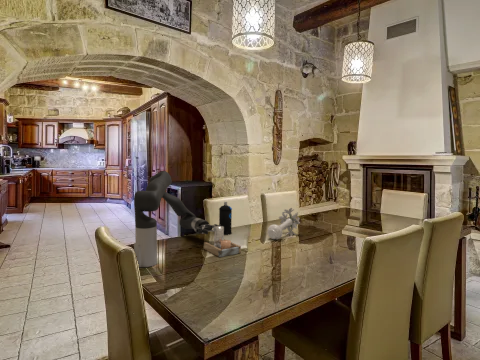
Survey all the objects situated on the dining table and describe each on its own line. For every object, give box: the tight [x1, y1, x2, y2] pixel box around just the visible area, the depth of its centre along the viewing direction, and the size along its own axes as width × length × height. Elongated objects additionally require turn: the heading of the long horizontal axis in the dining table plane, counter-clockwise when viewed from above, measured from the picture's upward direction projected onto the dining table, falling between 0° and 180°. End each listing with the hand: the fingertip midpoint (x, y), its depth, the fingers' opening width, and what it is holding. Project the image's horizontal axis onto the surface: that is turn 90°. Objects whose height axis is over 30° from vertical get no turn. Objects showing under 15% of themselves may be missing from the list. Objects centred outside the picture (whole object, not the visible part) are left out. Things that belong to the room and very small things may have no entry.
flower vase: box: [267, 207, 301, 240], centre depth 195 cm, size 13×18×25 cm
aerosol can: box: [218, 201, 233, 236], centre depth 201 cm, size 8×8×20 cm
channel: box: [203, 238, 242, 258], centre depth 165 cm, size 12×16×4 cm
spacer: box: [221, 239, 231, 250], centre depth 162 cm, size 5×5×6 cm
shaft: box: [213, 226, 225, 249], centre depth 167 cm, size 5×5×12 cm
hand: (214, 231), depth 171 cm, fingers open, 8 cm apart
